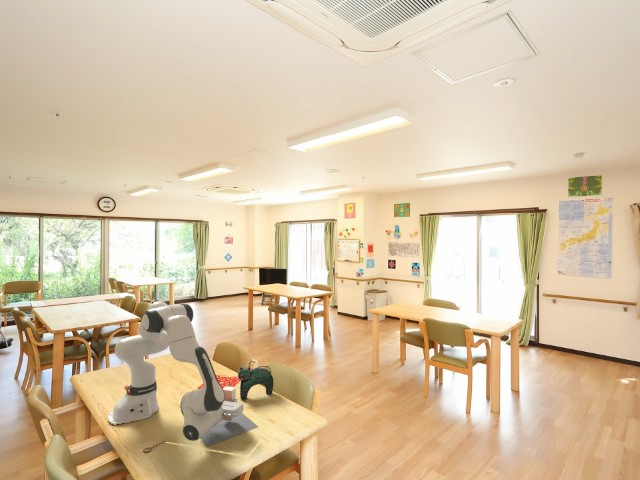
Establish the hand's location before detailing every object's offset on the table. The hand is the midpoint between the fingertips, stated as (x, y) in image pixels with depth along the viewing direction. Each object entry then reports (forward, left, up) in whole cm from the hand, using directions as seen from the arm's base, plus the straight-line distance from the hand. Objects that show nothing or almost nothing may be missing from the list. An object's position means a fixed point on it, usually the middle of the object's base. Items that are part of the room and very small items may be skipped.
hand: (229, 399), depth 161 cm
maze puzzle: (+16, +47, -12) cm, 51 cm away
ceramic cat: (+23, +17, -11) cm, 31 cm away
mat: (-4, -3, -11) cm, 12 cm away
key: (-30, +4, -12) cm, 32 cm away
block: (-1, -1, -8) cm, 8 cm away
